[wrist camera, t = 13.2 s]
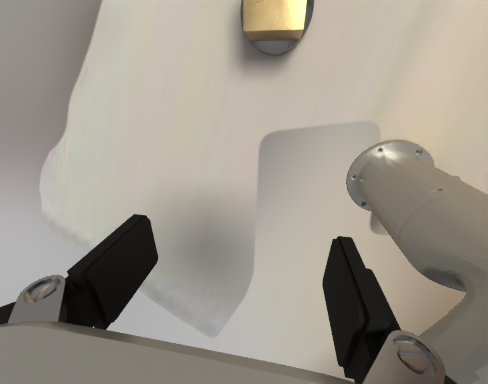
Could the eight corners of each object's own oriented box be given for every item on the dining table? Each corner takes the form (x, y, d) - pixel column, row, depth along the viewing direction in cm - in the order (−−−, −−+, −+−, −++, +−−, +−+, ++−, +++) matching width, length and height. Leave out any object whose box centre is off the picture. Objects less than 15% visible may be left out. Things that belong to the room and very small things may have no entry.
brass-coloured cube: (306, -27, 25) (312, -58, 19) (299, 40, 28) (303, 29, 22) (251, -23, 26) (243, -52, 20) (250, 41, 28) (243, 31, 23)
